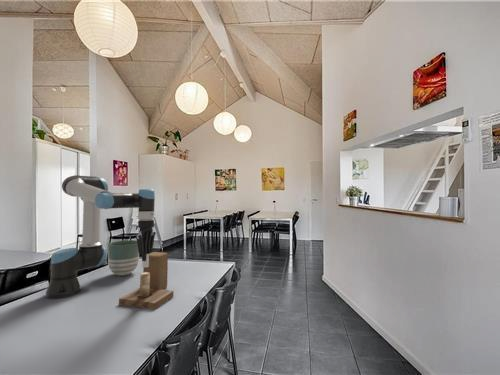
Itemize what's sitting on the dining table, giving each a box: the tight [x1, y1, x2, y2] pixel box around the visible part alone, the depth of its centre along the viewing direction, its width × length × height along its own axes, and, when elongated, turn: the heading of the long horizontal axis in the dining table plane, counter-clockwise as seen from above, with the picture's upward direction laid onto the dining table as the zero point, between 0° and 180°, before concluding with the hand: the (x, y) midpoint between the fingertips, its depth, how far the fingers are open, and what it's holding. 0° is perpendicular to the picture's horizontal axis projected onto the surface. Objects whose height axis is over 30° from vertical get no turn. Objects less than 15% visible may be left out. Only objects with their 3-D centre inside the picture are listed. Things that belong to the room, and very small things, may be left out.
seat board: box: [118, 287, 174, 310], centre depth 128 cm, size 20×16×3 cm
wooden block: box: [142, 251, 169, 290], centre depth 144 cm, size 10×10×20 cm
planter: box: [107, 239, 140, 277], centre depth 172 cm, size 20×20×21 cm
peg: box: [139, 272, 150, 299], centre depth 126 cm, size 5×5×14 cm
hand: (145, 266), depth 127 cm, fingers closed
